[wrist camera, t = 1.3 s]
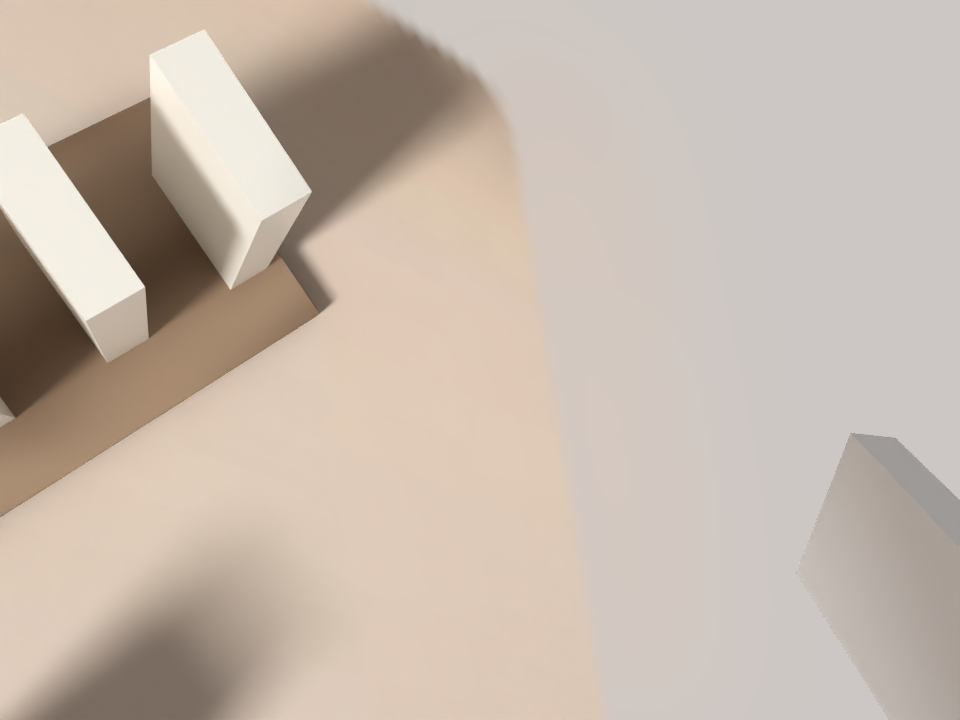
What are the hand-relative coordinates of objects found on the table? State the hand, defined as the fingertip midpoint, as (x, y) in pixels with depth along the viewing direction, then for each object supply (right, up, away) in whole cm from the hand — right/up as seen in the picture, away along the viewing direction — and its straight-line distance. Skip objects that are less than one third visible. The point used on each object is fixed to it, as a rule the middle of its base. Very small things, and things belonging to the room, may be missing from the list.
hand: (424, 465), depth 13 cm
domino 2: (-9, +7, +19) cm, 22 cm away
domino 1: (-13, +4, +17) cm, 22 cm away
